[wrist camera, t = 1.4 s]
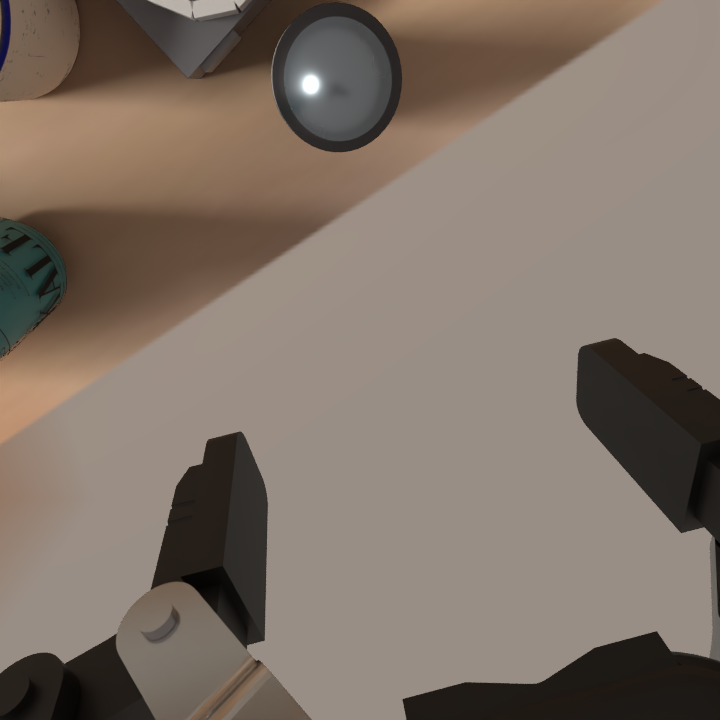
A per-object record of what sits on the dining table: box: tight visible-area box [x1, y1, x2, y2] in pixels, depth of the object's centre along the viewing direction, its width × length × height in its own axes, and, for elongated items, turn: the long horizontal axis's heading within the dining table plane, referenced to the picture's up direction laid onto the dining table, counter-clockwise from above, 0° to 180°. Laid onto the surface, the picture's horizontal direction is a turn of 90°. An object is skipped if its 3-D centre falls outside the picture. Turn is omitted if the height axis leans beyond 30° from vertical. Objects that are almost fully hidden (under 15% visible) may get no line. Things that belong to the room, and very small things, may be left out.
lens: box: [271, 3, 402, 152], centre depth 23 cm, size 5×5×13 cm
